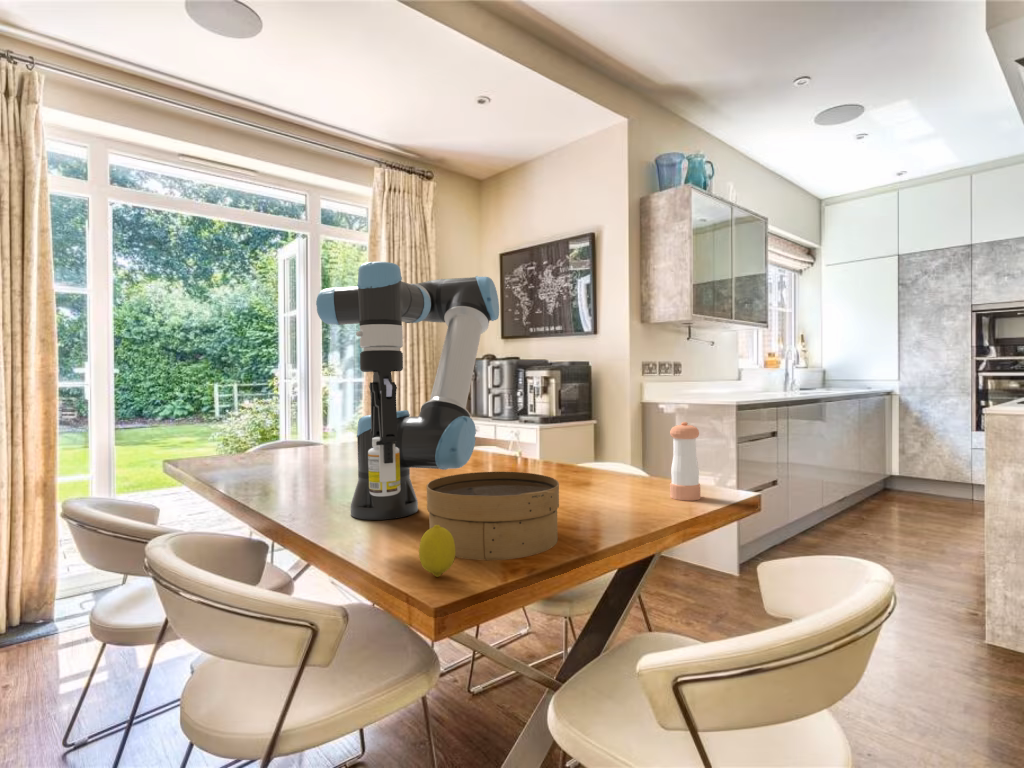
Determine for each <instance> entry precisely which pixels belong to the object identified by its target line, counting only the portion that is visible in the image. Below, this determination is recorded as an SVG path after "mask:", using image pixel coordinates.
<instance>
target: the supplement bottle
mask: <svg viewBox="0 0 1024 768" xmlns="http://www.w3.org/2000/svg"><path fill="white" fill-rule="evenodd" d="M377 441H380V437H374V438H372V447H373V448H371V449H370V450H369V451H368V468H369V492H370V494H371V495H373V496H391V495H395V494H398V493H399V492H400V490H401V486H400V454H399V449H398V448H397V447H395V463H396V481H389V482H380V474H379V445H376V442H377Z"/></svg>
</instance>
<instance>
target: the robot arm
mask: <svg viewBox="0 0 1024 768" xmlns="http://www.w3.org/2000/svg"><path fill="white" fill-rule="evenodd" d="M357 273H358V275H357V285H356V286H340V287H339V286H338V287H337V286H334V287H329V288H324V289H322V290H320V291H319V293H318V294H317V297H316V300H315V301H316V302H315V305H316V312H317V315H318V317H319V319H320V320H321V321H322V322H323V323H324V324H326V325H329V326H330V325H337V326H343V325H356V324H357V325H359V330H357V331H356V333H355V334H356V337H359V348H361V349H363V351H360V353H359V366H360V368H359V369H360V371H361V372H363V373H372V381H371V382H369V386H368V387H369V392H370V393H369V395H370V414H368V415H363V416H361V417H360V418H359V420H358V423H357V433H356V438H357V439H356V440H357V475H358V476H357V484H356V486H355V489H354V492H353V497H352V499H351V502H350V516H351V517H353V518H355V519H359V520H369V521H371V520H372V521H374V520H375V521H379V520H381V521H382V520H383V521H384V520H392V519H400V518H404V517H409V516H411V515H413V514H416V513H417V512H418V511H419V507H418V505H419V502H418V497H417V496H416V492H415V489H414V486H413V484H412V479H411V475H410V469H411V468H412V469H414V468H415V469H437V470H445V471H446V470H451V469H454V470H455V469H460V468H463V467H464V466H466V465H467V463H469V461H470V459H471V457H472V455H473V452H474V449H475V445H476V433H477V432H476V431H477V430H476V424H475V422H474V420H473V418H471V413H470V412H469V411H468V409H467V408H466V407H467V404H468V398H469V394H470V390H471V389H470V388H471V384H472V379H473V375H474V371H475V370H474V369H475V364H476V360H477V355H478V354H477V353H478V350H479V345H480V340H481V335H482V334H483V333H485V332H486V331H487V330H488V328H489V326H490V325H489V324H490V321H491V322H494V321H497V320H498V319H499V317H500V304H499V297H498V292H497V291H498V290H497V288H496V285H495V282H494V281H493V280H492V278H490V277H489V276H478V275H476V276H474V277H459V278H457V277H456V278H441V279H440V278H438V279H432V280H427V281H423V282H422V281H421V282H417V283H407V282H404V281H403V277H402V272H401V267H400V266H399V265H398V264H396V263H393V262H387V261H369V262H368V261H367V262H364V263H362V264H361V265H359V267H358V272H357ZM420 322H430V323H445V324H446V326H447V328H446V329H447V330H446V334H445V336H444V337H445V338H444V342H443V345H442V350H441V353H440V358H439V360H438V361H439V362H438V366H437V370H436V374H435V377H434V378H435V379H434V382H433V386H432V390H431V394H430V398H429V400H427V401H426V402H424V403H423V404H422V405H421V407H420V412H419V415H418V416H410V415H411V413H410V412H409V410H406V409H405V410H397V389H398V386H397V384H396V382H395V381H393V376H392V372H402V371H403V370H404V353H403V352H402V351H401V349H402V348H403V346H404V341H403V339H404V337H403V336H404V335H403V333H404V332H403V323H405V324H415V323H416V324H417V323H420ZM374 437H380V441H377V442H376V445H379V474H380V482H389V481H396V463H395V447H397V448H398V449H399V454H400V486H401V490H400V492H399V493H398V494H395V495H391V496H373V495H371V494H370V492H369V468H368V451H369V450H370V449H371V448H373V447H372V438H374Z"/></svg>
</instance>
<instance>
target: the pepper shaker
mask: <svg viewBox="0 0 1024 768" xmlns="http://www.w3.org/2000/svg"><path fill="white" fill-rule="evenodd" d="M669 434H670V437H672V438H673V439H672V441H673V444H672V445H673V447H672V448H673V449H672V451H673V455H672V461H671V462H672V463H671V469H670V472H671V473H670V475H671V482H670V483H669V491H670V492H669V496H670V499H673V500H678V501H698V500H700V499H701V484H700V483H699V482H700V481H699V479H700V478H699V477H700V470H699V469H700V468H699V464H698V458H697V438H698V437H699V436H700V431H699V429H698V428H697V427H696V426H694V425H693V424H692V425H691V424H688V422H687V421H682V422H681V423H680V424H678V425H674V426H672V427H671V429H670V431H669Z"/></svg>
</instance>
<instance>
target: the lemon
mask: <svg viewBox="0 0 1024 768" xmlns="http://www.w3.org/2000/svg"><path fill="white" fill-rule="evenodd" d="M419 541H420V542H419V545H418V546H419V547H418V557H419V561H420V564H421V566H422V568H423V569H424V570H425V571H427V572H428V573H431V574H432V575H433V576H435V577H436V578H438V577H440V576H441V575H442V574H443V573H446V572H447V571H448V570H449V569H450V568H451V567H452V565H454V563H455V562H454V561H455V558H456V557H455V543H454V539H453V536H452V535H451V533H450V532H449V531H448V530H447V529H445V528H443V527H440V525H435V526H434V527H432V528H430V527H429V529H427V530H426V531H425V532H424V533H423V535H422V537H421V538H420V540H419Z"/></svg>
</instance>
